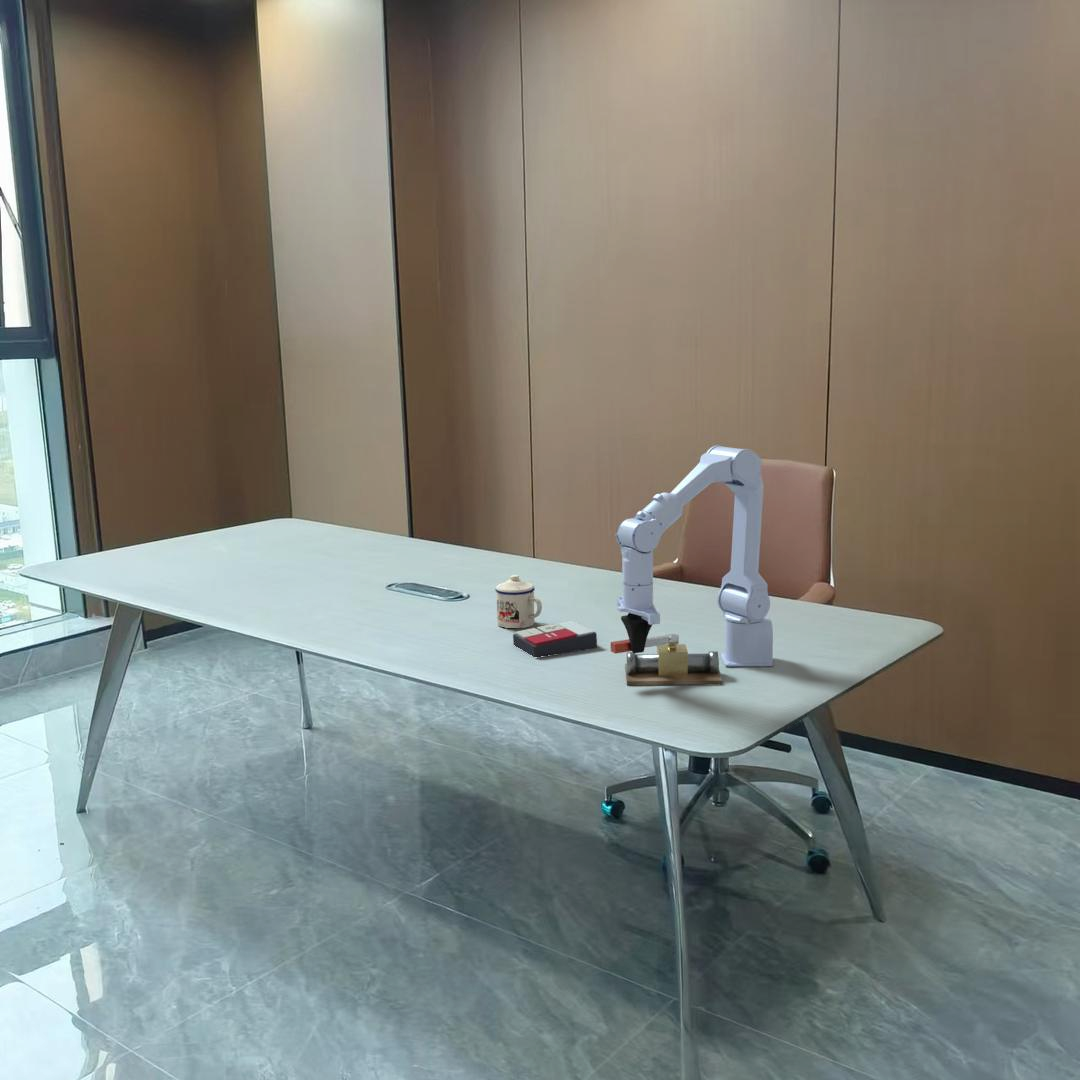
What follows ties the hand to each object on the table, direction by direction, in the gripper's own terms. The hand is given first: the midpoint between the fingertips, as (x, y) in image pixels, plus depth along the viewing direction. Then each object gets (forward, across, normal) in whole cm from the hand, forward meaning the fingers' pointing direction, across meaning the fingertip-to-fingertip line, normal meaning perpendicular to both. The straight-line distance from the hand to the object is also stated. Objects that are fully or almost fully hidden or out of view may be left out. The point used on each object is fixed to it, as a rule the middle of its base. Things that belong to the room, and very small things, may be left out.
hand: (637, 652), depth 203 cm
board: (+6, -2, +8) cm, 11 cm away
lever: (0, -2, +3) cm, 3 cm away
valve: (+6, -2, +8) cm, 11 cm away
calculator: (+7, -30, -5) cm, 32 cm away
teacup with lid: (+7, -50, -6) cm, 50 cm away
